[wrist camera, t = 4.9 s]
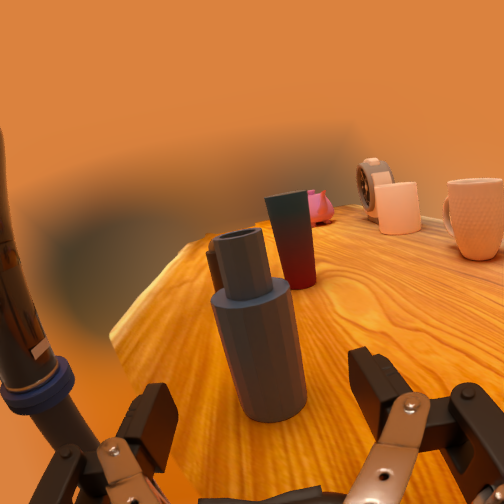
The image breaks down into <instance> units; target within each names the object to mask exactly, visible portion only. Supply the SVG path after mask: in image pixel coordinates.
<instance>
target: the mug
mask: <svg viewBox="0 0 504 504" xmlns="http://www.w3.org/2000/svg"><path fill="white" fill-rule="evenodd" d="M447 187H448V196H447V197H446V199H445V201H444V204H443V221H444V225H445V228H446V230H447V231H448V233H449V234H450V235H451V236H452V237H454V238H455V239H456V242H457V245H458V247H459V249H460V251H461V253H462V254H463V256H464V257H466V258H467V259H471V260H480V261H481V260H488V259H491V258H493V257H494V256H495V255H496V253H497V251H498V249H499V247H500V245H501V242H502V237H503V232H504V190H503V181H502V179H498V178H474V179H461V180H454V181H449V182H448V183H447ZM449 208H450V216H451V222H450V216H449ZM451 223H452V225H451Z"/></svg>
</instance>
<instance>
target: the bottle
mask: <svg viewBox="0 0 504 504" xmlns="http://www.w3.org/2000/svg"><path fill="white" fill-rule="evenodd" d="M213 243H214V247H215V252H216V256H217V260H218V265H219V269H220V273H221V277H222V281H223V285H224V288H222V289H220V290H219V291H218V292H216V293H215V294H214V295H213V296H212V298H211V305H212V309H213V312H214V316H215V320H216V323H217V327H218V330H219V334H220V338H221V341H222V345H223V348H224V351H225V355H226V358H227V362H228V365H229V368H230V372H231V375H232V378H233V381H234V385H235V388H236V391H237V394H238V397H239V401H240V404H241V406H242V408H243V411H244V413H245V414H246V415H247V416H248V417H250V418H251V419H253V420H256V421H259V422H267V423H270V422H278V421H283V420H286V419H288V418H290V417H292V416H294V415H295V414H297V413H298V412H299V411H300V410H301V409H302V408H303V407H304V405H305V403H306V400H307V390H306V383H305V376H304V370H303V363H302V356H301V350H300V343H299V337H298V331H297V325H296V319H295V313H294V307H293V301H292V295H291V289H290V285H289V283H288V281H287V280H284V279H282V278H274V277H271V273H270V268H269V263H268V258H267V252H266V247H265V242H264V237H263V232H262V229H261V228H249V229H242V230H237V231H233V232H229V233H225V234H222V235H219V236H217V237H215V238H214V239H213Z"/></svg>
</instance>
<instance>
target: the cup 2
mask: <svg viewBox="0 0 504 504" xmlns="http://www.w3.org/2000/svg"><path fill="white" fill-rule="evenodd" d="M374 191H375V198H376V204H377V212H378V219H379V228H380V232H381V233H382V234H387V235H401V234H409V233H414V232H417V231H419V230H420V229H421V217H420V208H419V200H418V192H417V185H416V182H403V183H393V184H386V185H380V186H375V187H374Z"/></svg>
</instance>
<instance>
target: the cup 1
mask: <svg viewBox="0 0 504 504" xmlns="http://www.w3.org/2000/svg"><path fill="white" fill-rule="evenodd" d="M264 199H265V202H266V206H267V210H268V214H269V218H270V222H271V226H272V229H273V233H274V237H275V241H276V245H277V249H278V253H279V257H280V261H281V265H282V269H283V273H284V277H285V280H287V281H288V283H289V285H290V289H294V290H297V289H305V288H308V287H311V286H313V285H314V284H315V283H316V270H315V259H314V248H313V238H312V228H311V219H310V210H309V202H308V194H307V190H300V191H293V192H288V193H282V194H277V195H272V196H268V197H264Z"/></svg>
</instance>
